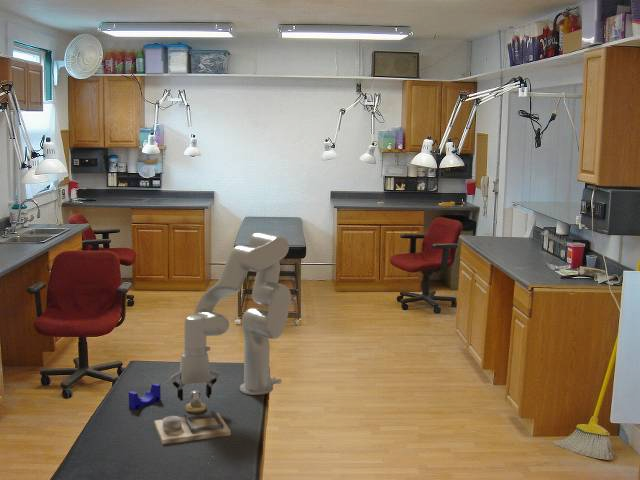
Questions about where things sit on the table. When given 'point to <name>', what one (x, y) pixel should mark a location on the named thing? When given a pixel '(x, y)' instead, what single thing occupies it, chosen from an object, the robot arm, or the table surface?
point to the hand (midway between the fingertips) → (194, 398)
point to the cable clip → (145, 397)
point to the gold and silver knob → (195, 403)
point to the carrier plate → (191, 428)
